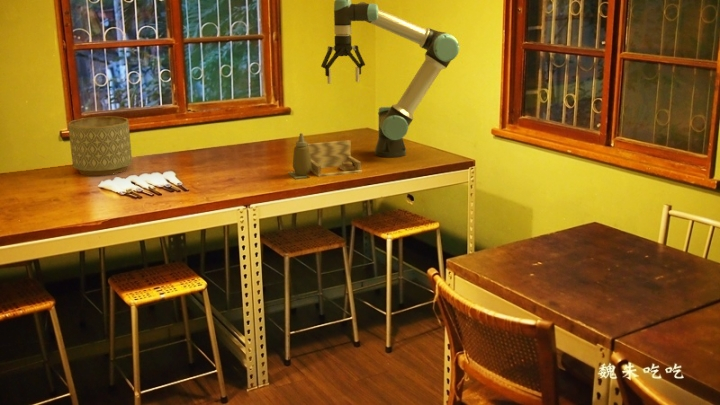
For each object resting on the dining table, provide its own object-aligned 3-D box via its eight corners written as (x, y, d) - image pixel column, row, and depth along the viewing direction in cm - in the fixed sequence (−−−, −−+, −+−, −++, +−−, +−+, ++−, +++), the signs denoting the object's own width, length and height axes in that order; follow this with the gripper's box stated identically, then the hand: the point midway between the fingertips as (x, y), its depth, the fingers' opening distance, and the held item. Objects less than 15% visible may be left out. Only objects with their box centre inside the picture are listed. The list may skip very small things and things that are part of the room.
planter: (63, 170, 357) (57, 122, 351) (113, 161, 375) (109, 114, 368) (91, 180, 340) (86, 129, 334) (143, 169, 358) (139, 120, 352)
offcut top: (350, 164, 355) (350, 161, 355) (352, 166, 350) (352, 163, 350) (342, 164, 355) (341, 161, 354) (343, 167, 350) (343, 164, 349)
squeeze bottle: (308, 176, 342) (307, 135, 336) (290, 176, 343) (289, 135, 338) (313, 172, 349) (312, 132, 344) (296, 171, 351) (294, 131, 346)
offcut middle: (350, 167, 357) (350, 164, 356) (354, 169, 352) (354, 166, 351) (339, 168, 355) (339, 164, 354) (343, 171, 350) (343, 167, 349)
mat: (308, 171, 353) (308, 170, 353) (316, 177, 343) (316, 176, 343) (288, 173, 350) (288, 172, 349) (295, 179, 340) (295, 178, 340)
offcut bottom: (349, 170, 357) (349, 167, 357) (354, 173, 352) (354, 170, 351) (339, 171, 355) (339, 168, 355) (343, 174, 350) (343, 171, 350)
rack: (349, 166, 362) (349, 140, 359) (362, 174, 348) (362, 147, 344) (307, 170, 355) (307, 143, 352) (319, 178, 341) (318, 151, 337)
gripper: (365, 33, 362) (365, 80, 368) (313, 35, 354) (314, 83, 360) (371, 34, 355) (372, 82, 361) (319, 36, 347) (320, 85, 353)
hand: (343, 82), depth 361 cm, fingers open, 13 cm apart
